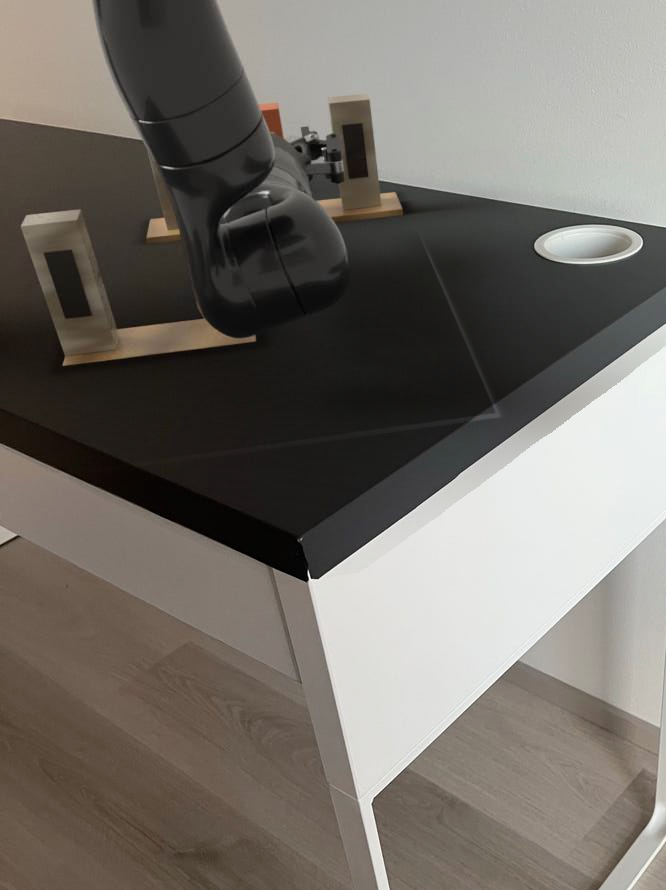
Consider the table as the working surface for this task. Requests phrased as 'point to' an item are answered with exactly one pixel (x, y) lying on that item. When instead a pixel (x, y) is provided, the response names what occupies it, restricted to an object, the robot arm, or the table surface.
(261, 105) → the orange labeled box
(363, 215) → the twin post stand
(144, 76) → the robot arm
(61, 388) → the table surface
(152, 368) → the table surface
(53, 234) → the post on wooden plank
